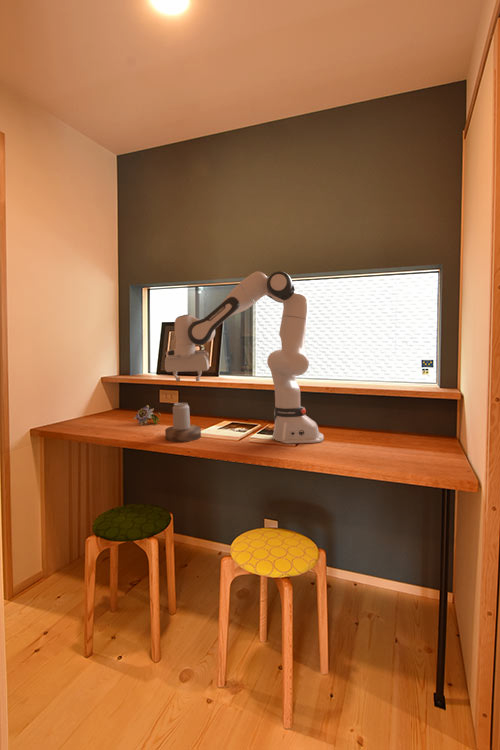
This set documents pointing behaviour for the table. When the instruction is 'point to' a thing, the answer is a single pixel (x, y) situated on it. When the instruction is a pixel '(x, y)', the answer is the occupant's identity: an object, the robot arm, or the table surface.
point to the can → (181, 417)
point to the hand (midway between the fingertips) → (188, 381)
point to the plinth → (183, 434)
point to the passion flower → (146, 415)
